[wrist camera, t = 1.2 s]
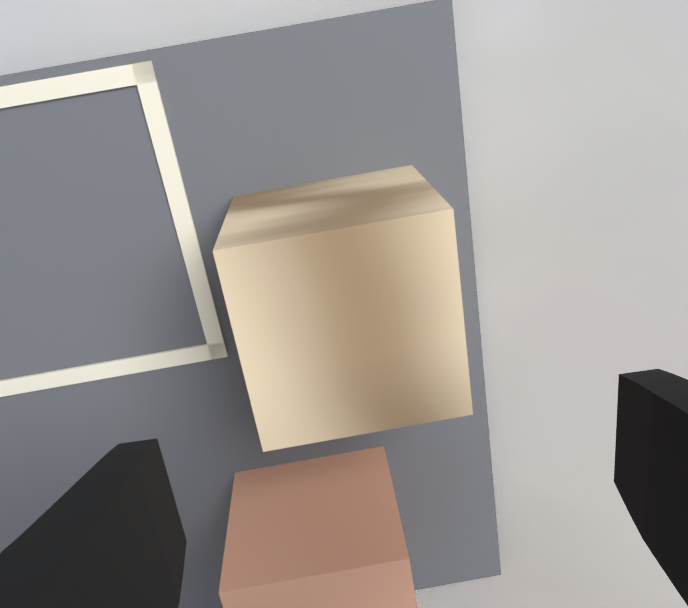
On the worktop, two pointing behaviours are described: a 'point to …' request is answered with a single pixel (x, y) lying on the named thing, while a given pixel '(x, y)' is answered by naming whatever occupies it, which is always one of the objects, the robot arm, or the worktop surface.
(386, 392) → the maple block
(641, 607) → the worktop surface
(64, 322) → the build mat
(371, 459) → the terracotta block
